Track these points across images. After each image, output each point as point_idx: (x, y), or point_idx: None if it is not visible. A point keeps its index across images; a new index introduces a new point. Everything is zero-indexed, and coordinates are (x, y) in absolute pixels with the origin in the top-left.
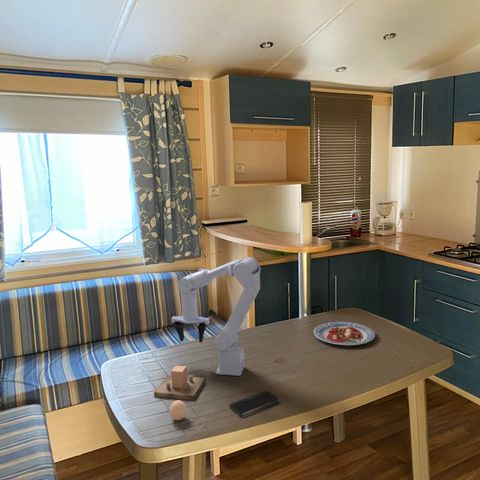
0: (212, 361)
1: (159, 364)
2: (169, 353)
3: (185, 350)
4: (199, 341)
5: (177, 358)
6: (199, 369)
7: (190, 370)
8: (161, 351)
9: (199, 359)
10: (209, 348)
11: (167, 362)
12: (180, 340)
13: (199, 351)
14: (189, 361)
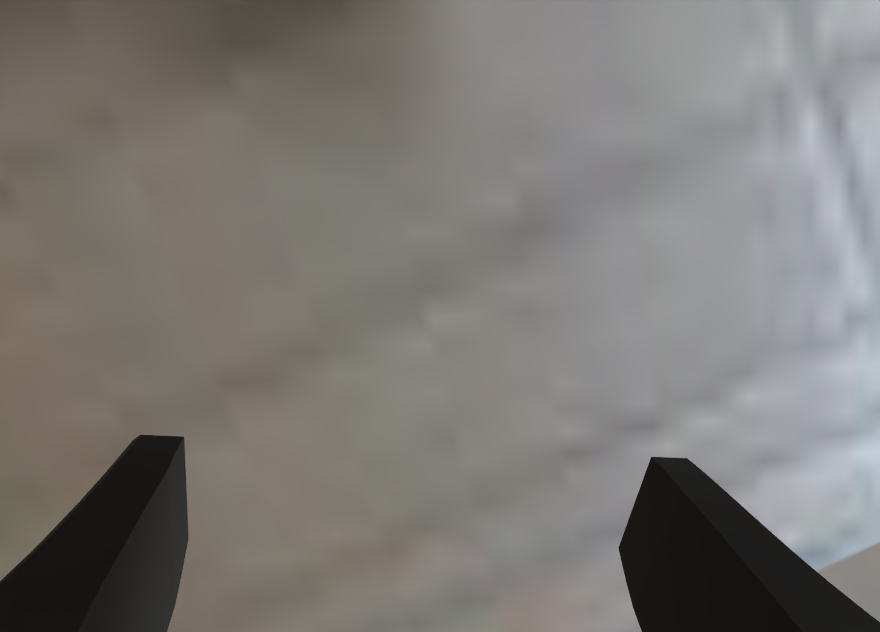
0: (130, 328)
1: (867, 204)
2: (743, 478)
3: (563, 551)
4: (171, 451)
5: (635, 374)
6: (241, 70)
7: (382, 29)
8: (835, 510)
9: (336, 369)
10: (292, 611)
11: (759, 265)
12: (699, 471)
13: (392, 545)
14: (461, 309)
